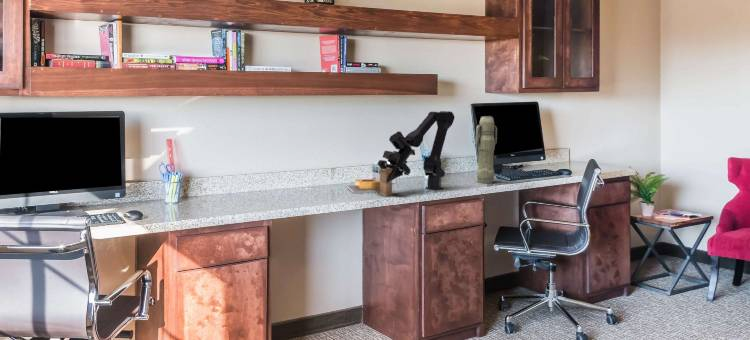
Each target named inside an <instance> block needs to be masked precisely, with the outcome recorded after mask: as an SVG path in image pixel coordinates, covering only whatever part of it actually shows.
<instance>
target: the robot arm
mask: <svg viewBox="0 0 750 340" xmlns="http://www.w3.org/2000/svg"><path fill="white" fill-rule="evenodd" d="M454 120H455V115H454V113H453V112H452V111H448V110H447V111H446V110H444V111H443V110H442V111H441V110H440V111H429V112H428V114H427V116H426V117H425V118H424V119H423V120H422V122H421V123H420V124H419V125H418V126H417V127H416V128H415V129H414V130H412V131H411V132H409V133H408V134H406V135H405V136H404V135H403V133H402V131H396V133H393V134H392V135H390V137H389V142H390V144H392V146H393V147H394V148H395V149H396V150H398V151H396V150H393V151H391V150H384V152H383V155H382V158H384V159H386V160H383V159H379V160H378V162H376V163H377V164H378V165H379V167H380V168H381V169H392V172H391V174H390V175H389V177H388V179H387V182H390V181H391V180H393V179H395V180H396V179H397V178H399V177H403V176H409V175H410V173H411V167H409V166H408V164H407V163H408V158H409V157H410V156H415V155H416V151H415V149H414V148H419V147H420V146H421V144H422V142H423V141H424V136H425V135H426V133H427V132H428V131H429V130H430V129H431V128H432V126H433V125H434V124H435V123H436V125H437V129H436V132H435V133H436V134H435V136H434V140H433V144H432V147H431V150H430V154H429V155H428V156H425V157H424V162H423V164H422V165H423V168H422V169H423V171H424V175H425V176H426V177H427V180H426V181H427V182H426V183H427V185H426V187H425V188H426V189H429V190H441V189H444V187H442V177H445V173H446V171H444V169H443V168H442V165H443V164H442V160H441V154H442V151H443V148H444V144H445V140H446V138H447V137H446V136H447V134H448V130H449V129H450V128H451V127H452V125H453V123H454V122H455V121H454ZM387 162H390V164H388V163H387Z"/></svg>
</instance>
